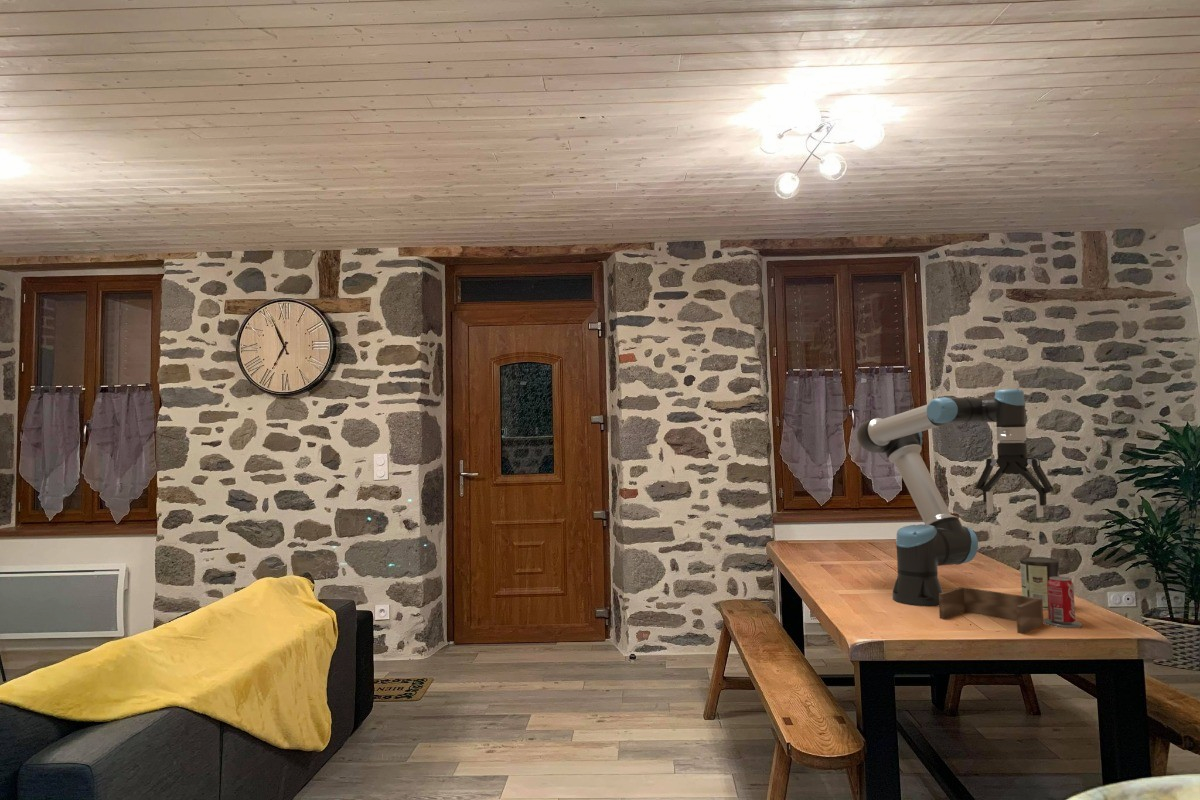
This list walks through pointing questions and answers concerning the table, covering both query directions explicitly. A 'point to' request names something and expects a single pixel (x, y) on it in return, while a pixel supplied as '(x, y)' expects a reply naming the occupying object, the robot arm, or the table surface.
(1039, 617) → the walnut u-shaped barrier
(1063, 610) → the beverage can
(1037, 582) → the coffee can
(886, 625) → the table surface
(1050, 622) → the slate coaster
